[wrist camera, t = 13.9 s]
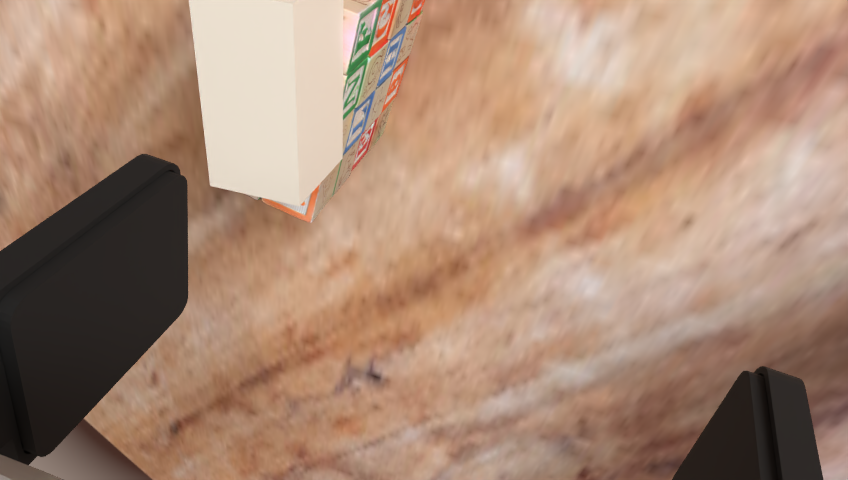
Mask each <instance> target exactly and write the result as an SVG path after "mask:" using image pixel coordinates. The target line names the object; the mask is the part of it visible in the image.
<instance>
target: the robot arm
mask: <svg viewBox="0 0 848 480" xmlns="http://www.w3.org/2000/svg"><path fill="white" fill-rule="evenodd" d="M187 299H188V208H187V180H186V178H185V177H184V176H182V175H180V170H179V168H178V166H177V165H175V164H174V163H171V162H168V161H165V160H162V159H159V158H156V157H153V156H150V155H147V154H141V155H139V156H137V157H135V158H134V159H133V160H131V161H130V162H128V163H127V164H125V165H124V166H122V167H121V168H120V169H118V170H117V171H115V172H114V173H112V174H111V175H109V176H108V177H107V178H105V179H104V180H102V181H101V182H99V183H98V184H96V185H95V186H94V187H92V188H91V189H89V190H88V191H86V192H85V193H83V194H82V195H81V196H79V197H78V198H76V199H75V200H73V201H72V202H70V203H69V204H68V205H66V206H65V207H63V208H62V209H60V210H59V211H57V212H56V213H55V214H53V215H52V216H50V217H49V218H47V219H46V220H44V221H43V222H42V223H40V224H39V225H37V226H36V227H34V228H33V229H31V230H30V231H29V232H27V233H26V234H24V235H23V236H21V237H20V238H18V239H17V240H16V241H14V242H13V243H11V244H10V245H8V246H7V247H6V248H4V249H3V250H1V251H0V480H63V479H61V478H58V477H56V476H53V475H51V474H49V473H46V472H44V471H41V470H39V469H36V468H33V467H31V466H28V465H29V464H30V463H31V462H32V461H33V460H34V459H35V458H36V457H37V456H40V457H43V456H46V455H48V454H50V453H51V452H52V451H53V450H54V449H55V448H56V447H57V446H58V445H59V444H60V443H61V442H62V441H63V439H64V438H65V437H66V436H67V435H68V434H69V433H70V432H71V431H72V430H73V429H74V428H75V427H76V426H77V425H78V423H79V422H80V421H81V420H82V419H83V418H84V417H85V416H86V415H87V414H88V413H89V412H90V411H91V410H92V409H93V408H94V406H95V405H96V404H97V403H98V402H99V401H100V400H101V399H102V398H103V397H104V396H105V395H106V394H107V393H108V392H109V390H110V389H111V388H112V387H113V386H114V385H115V384H116V383H117V382H118V381H119V380H120V379H121V378H122V377H123V376H124V374H125V373H126V372H127V371H128V370H129V369H130V368H131V367H132V366H133V365H134V364H135V363H136V362H137V361H138V360H139V358H140V357H141V356H142V355H143V354H144V353H145V352H146V351H147V350H148V349H149V348H150V347H151V346H152V345H153V344H154V342H155V341H156V340H157V339H158V338H159V337H160V336H161V335H162V334H163V333H164V332H165V331H166V330H167V329H168V328H169V327H170V325H171V324H172V323H173V322H174V321H175V320H176V319H177V318H178V317H179V316H180V314H181V313H182V312H183V310H184V308H185V306H186V303H187ZM672 480H823V476H822V471H821V466H820V460H819V455H818V450H817V445H816V440H815V435H814V430H813V425H812V420H811V415H810V409H809V404H808V399H807V394H806V389H805V385H804V382H803V381H802V380H801V379H799V378H796V377H794V376H791V375H788V374H785V373H782V372H779V371H776V370H773V369H770V368H767V367H764V366H762V367H759V368H758V369H757V370H756V371H755V372H754V373H752V372H749V371H743V372H742V373H741V374H740V375H739V377H738V378H737V380H736V381H735V383H734V384H733V386H732V388H731V389H730V391H729V392H728V394H727V395H726V397H725V398H724V400H723V401H722V403H721V404H720V406H719V408H718V409H717V411H716V412H715V414H714V415H713V417H712V418H711V420H710V421H709V423H708V424H707V426H706V427H705V429H704V431H703V432H702V434H701V435H700V437H699V438H698V440H697V441H696V443H695V444H694V446H693V447H692V449H691V451H690V452H689V454H688V455H687V457H686V458H685V460H684V461H683V463H682V464H681V466H680V467H679V469H678V471H677V472H676V474H675V475H674V477H673V479H672Z"/></svg>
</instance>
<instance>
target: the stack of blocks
mask: <svg viewBox="0 0 848 480" xmlns="http://www.w3.org/2000/svg"><path fill="white" fill-rule="evenodd" d="M424 2H425V0H343V159H342V160H341V161H340V162H339V163H338V164H337V165H336V166H335V168H334V169H333V170H332V171H331V172H330V173H329V174H328V175H327V176H326V178H325V179H324V180H323V181H322V182H321V183H320V184H319V185H318V186H317V188H316V189H315V190H314V191H313V192H312V193H311V194H310V195H309V196H308V198H307V199H306V200H305V201H304V202H303V203H302V204H301V205H300V206H296V205H291V204H287V203H283V202H278V201H274V200H270V199H265V198H261V197H257V196H252V195H248V194H245V195H247V196H249V197H251V198H253V199H256V200H259V199H260V198H261V199H262V201H263V202H264V203H266V204H268V205H270V206H272V207H274V208H277V209H279V210H281V211H283V212H286V213H288V214H290V215H293V216H295V217H297V218H300V219H302V220H304V221H307V222H310V223H311V222H312V221H313V220H314V219H315V218H316V216H317V215H318V214H319V213H320V211H321V210H322V209H323V207H324V206H325V205H326V203H327V202H328V201H329V199H330V198H331V197H332V196H333V195H334V194H335V193H336V192H337V190H338V189H339V188H340V187H341V186H342V184H343V183H344V182H345V181H346V180H347V178H348V177H349V176H350V174H351V171H352V170H353V169H354V168H355V167H356V166H357V164H358V163H359V162H360V160H361V159H362V158H363V156H364V155H365V154H366V153H367V152H369V151H370V150H371V149H372V147H373V146H374V145H375V143H376V142H377V141H378V139H379V138H380V137H381V136H382V134H383V132H384V129H385V126H386V123H387V120H388V116H389V113H390V110H391V107H392V104H393V101H394V98H395V97H396V95H397V92H398V89H399V86H400V83H401V80H402V77H403V73H404V70H405V67H406V64H407V61H408V58H409V54H410V52H411V49H412V46H413V43H414V40H415V37H416V33H417V30H418V27H419V24H420V20H421V17H422V14H423V12H422V7H423V4H424ZM243 194H244V193H243Z"/></svg>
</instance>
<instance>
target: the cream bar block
mask: <svg viewBox="0 0 848 480" xmlns="http://www.w3.org/2000/svg"><path fill="white" fill-rule="evenodd" d="M189 5H190V14H191V22H192V31H193V40H194V49H195V57H196V66H197V75H198V83H199V92H200V101H201V110H202V118H203V127H204V136H205V145H206V153H207V162H208V171H209V180H210V186H213V187H217V188H222V189H226V190H231V191H235V192H239V193H244V194H248V195H252V196H257V197H261V198H265V199H270V200H274V201H278V202H283V203H287V204H291V205H296V206H300V205H301V204H302V203H303V202H304V201H305V200H306V199H307V198H308V196H309V195H310V194H311V193H312V192H313V191H314V190H315V189H316V188H317V186H318V185H319V184H320V183H321V182H322V181H323V180H324V179H325V178H326V176H327V175H328V174H329V173H330V172H331V171H332V170H333V169H334V168H335V166H336V165H337V164H338V163H339V162H340V161H341V160H342V159H343V0H189Z"/></svg>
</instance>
